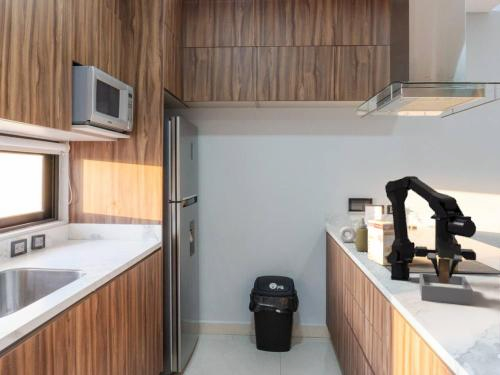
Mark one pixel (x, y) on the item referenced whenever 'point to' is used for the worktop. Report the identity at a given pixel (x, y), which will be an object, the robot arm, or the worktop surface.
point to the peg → (444, 270)
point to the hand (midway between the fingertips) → (443, 277)
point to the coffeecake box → (380, 240)
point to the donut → (350, 230)
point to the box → (445, 289)
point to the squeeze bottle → (361, 237)
